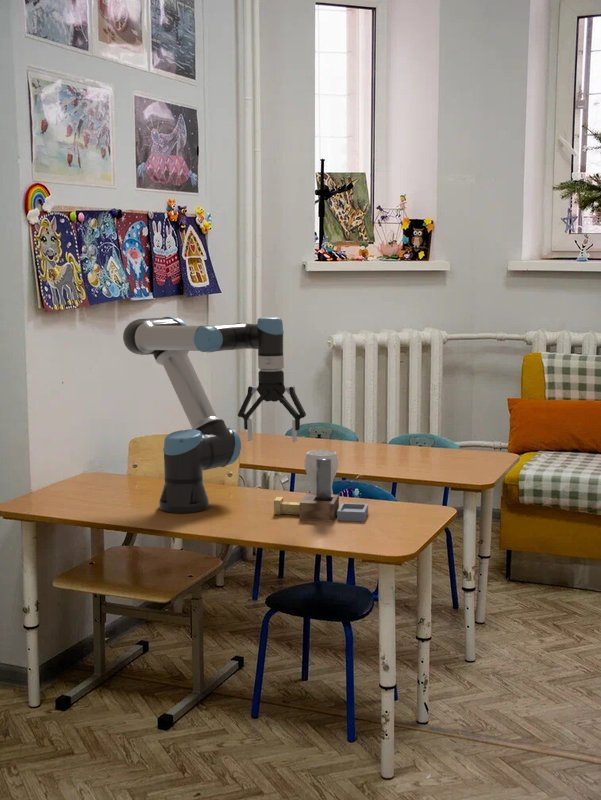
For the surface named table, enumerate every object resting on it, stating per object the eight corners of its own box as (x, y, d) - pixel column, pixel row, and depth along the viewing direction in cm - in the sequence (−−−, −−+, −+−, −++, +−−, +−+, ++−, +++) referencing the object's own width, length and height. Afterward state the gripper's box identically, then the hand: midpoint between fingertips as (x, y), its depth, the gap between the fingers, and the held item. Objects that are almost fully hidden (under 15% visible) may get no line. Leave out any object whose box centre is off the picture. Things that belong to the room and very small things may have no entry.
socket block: (299, 519, 294) (299, 502, 294) (306, 509, 306) (306, 493, 305) (333, 520, 293) (333, 504, 292) (338, 510, 304) (338, 494, 304)
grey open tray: (337, 520, 293) (337, 511, 293) (341, 511, 303) (341, 502, 303) (364, 521, 292) (364, 512, 292) (368, 512, 302) (368, 504, 301)
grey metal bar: (315, 516, 297) (315, 460, 295) (317, 513, 302) (317, 457, 299) (329, 517, 297) (330, 461, 294) (331, 513, 301) (332, 458, 298)
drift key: (273, 514, 299) (273, 500, 299) (276, 510, 304) (276, 497, 303) (313, 516, 297) (313, 502, 297) (315, 512, 302) (315, 498, 301)
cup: (309, 503, 313) (309, 456, 311) (300, 496, 323) (300, 450, 321) (342, 501, 316) (342, 454, 313) (332, 494, 326) (332, 448, 324)
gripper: (226, 371, 294) (228, 442, 297) (310, 371, 290) (311, 443, 292) (233, 368, 302) (234, 438, 304) (314, 368, 297) (315, 439, 300)
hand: (272, 441), depth 298 cm, fingers open, 13 cm apart
